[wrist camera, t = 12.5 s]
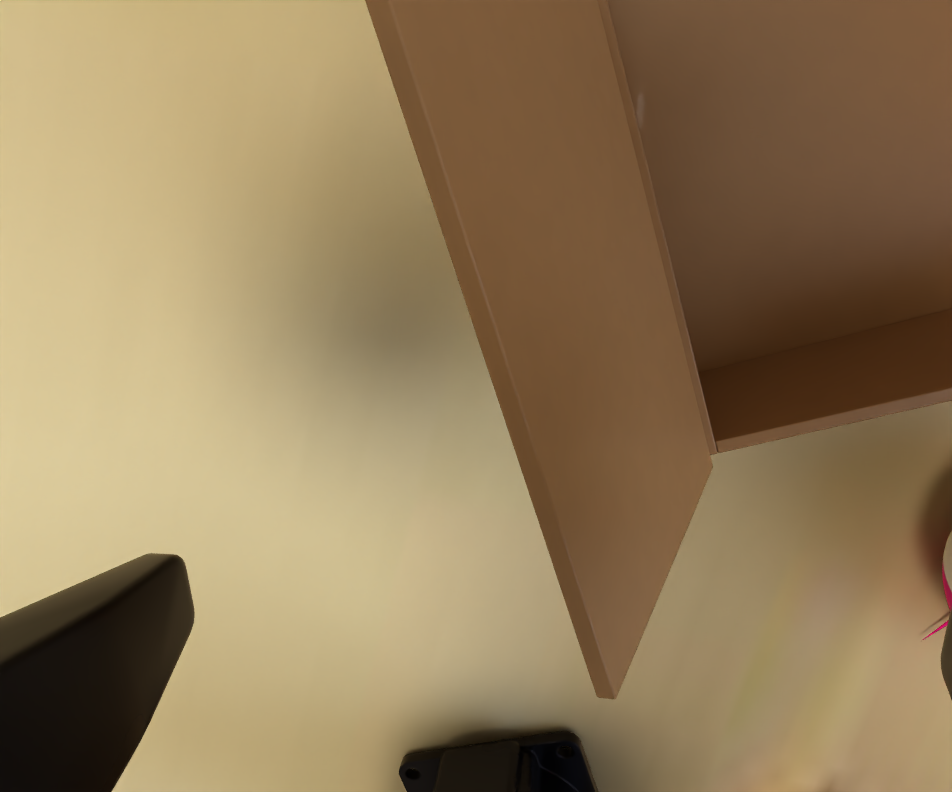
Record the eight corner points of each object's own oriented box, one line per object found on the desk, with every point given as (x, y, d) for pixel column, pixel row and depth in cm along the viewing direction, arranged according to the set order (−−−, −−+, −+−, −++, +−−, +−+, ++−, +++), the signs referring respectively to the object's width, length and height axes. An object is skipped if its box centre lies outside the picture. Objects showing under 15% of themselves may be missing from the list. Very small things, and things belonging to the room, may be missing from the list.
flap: (615, 700, 11) (596, 699, 11) (713, 467, 16) (699, 468, 16) (169, -684, 6) (145, -653, 6) (506, -372, 12) (489, -359, 12)
